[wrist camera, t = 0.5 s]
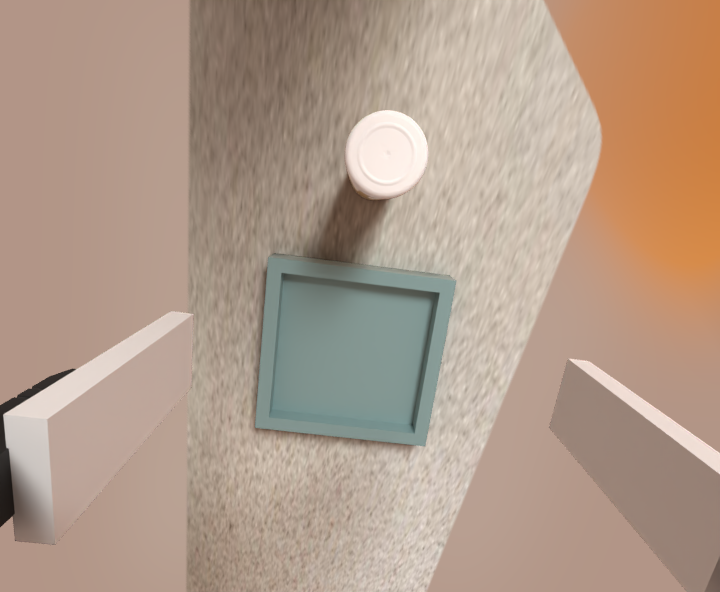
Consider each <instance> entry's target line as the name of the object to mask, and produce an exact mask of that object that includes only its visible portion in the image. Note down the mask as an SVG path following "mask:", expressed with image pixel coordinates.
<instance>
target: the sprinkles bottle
mask: <svg viewBox="0 0 720 592" xmlns="http://www.w3.org/2000/svg"><path fill="white" fill-rule="evenodd" d="M427 161H428V146H427V141H426V138H425V136H424V134H423V132H422V130H421V128H420V127H419V126H418V124H417V123H416V122H415V121H414V120H413V119H411V118H410V117H408V116H407V115H405V114H403V113H400V112H397V111H391V110H383V111H378V112H374V113H371V114H369V115H367V116H366V117H364V118H363V119H361V120H360V121H359V122H358V123H357V124H356V125H355V127H354V128H353V129H352V131H351V132H350V135H349V137H348V139H347V142H346V147H345V165H346V170H347V173H348V175H349V178H350V183H351V185H352V186H353V188H354V190H355V191H356V192H357V193H358V194H359V195H360V196H361V197H363V198H366V199H369V200H382V199H391V198H395V197H398V196H401V195H403V194H405V193H406V192H408V191H410V190H411V189H412V188H413V187H414V186H415V185H416V184H417V183H418V182H419V181H420V179H421V178H422V176H423V174H424V172H425V169H426V165H427Z"/></svg>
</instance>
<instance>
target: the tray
mask: <svg viewBox="0 0 720 592" xmlns="http://www.w3.org/2000/svg"><path fill="white" fill-rule="evenodd" d="M455 285H456V280H455V279H453V278H452V277H451V276H449V275H441V274H433V273H425V272H417V271H409V270H402V269H394V268H386V267H378V266H370V265H362V264H355V263H347V262H339V261H331V260H323V259H315V258H307V257H300V256H292V255H284V254H276V253H274V254H272V255H271V256H269V257H268V267H267V280H266V293H265V306H264V318H263V331H262V344H261V357H260V369H259V382H258V395H257V408H256V420H255V428H262V429H271V430H280V431H289V432H299V433H308V434H317V435H326V436H335V437H344V438H353V439H363V440H372V441H381V442H390V443H399V444H408V445H417V446H425V445H426V439H427V434H428V429H429V423H430V418H431V413H432V407H433V402H434V397H435V391H436V386H437V381H438V376H439V370H440V365H441V360H442V354H443V349H444V344H445V338H446V333H447V328H448V322H449V317H450V312H451V306H452V301H453V296H454V290H455Z"/></svg>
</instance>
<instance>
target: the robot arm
mask: <svg viewBox="0 0 720 592" xmlns="http://www.w3.org/2000/svg"><path fill="white" fill-rule="evenodd" d="M193 321H194V314H190V313H182V312H173V311H170V312H169V313H167V314H166V315H164V316H162V317H161V318H160V319H158V320H156V321H154V322H153V323H151V324H149V325H148V326H146V327H144V328H143V329H141V330H140V331H138V332H136V333H135V334H133V335H132V336H130V337H128V338H127V339H125V340H124V341H122V342H120V343H119V344H117V345H115V346H114V347H112V348H110V349H109V350H107V351H106V352H104V353H102V354H101V355H99V356H97V357H96V358H94V359H93V360H91V361H89V362H88V363H86V364H85V365H83V366H81V367H80V368H78V369H70V370H67V371H64V372H61V373H58V374H56V375H53V376H50V377H48V378H46V379H45V380H43V381H41V382H39V383H38V384H36V385H34V386H33V387H32V389H27V390H26V391H24V392H22V393H21V394H19V395H18V396H17V398H15V397H14V398H12V399H10V400H9V401H7V402H5V403H3V404H2V405H0V527H1V526H2V525H3V524H4V523H5V522H6V521H7V520H9V519H10V518H11V517H12V516H13V524H14V534H15V541H20V542H32V543H42V544H52V545H56V544H57V542H58V541H59V540H60V539H61V538H62V537H63V535H64V534H65V533H66V532H67V531H68V530H69V528H70V527H71V526H72V525H73V524H74V523H75V521H76V520H77V519H78V518H79V517H80V516H81V515H82V513H83V512H84V511H85V510H86V509H87V507H89V505H90V504H91V503H92V502H93V501H94V500H95V498H96V497H97V496H98V495H99V494H100V493H101V491H102V490H103V489H104V488H105V487H106V486H107V484H108V483H109V482H110V481H111V480H112V479H113V477H114V476H115V475H116V474H117V473H118V472H119V471H120V469H121V468H122V467H123V466H124V465H125V464H126V463H127V461H128V460H129V459H130V458H131V457H132V456H133V454H134V453H135V452H136V451H137V450H138V449H139V447H140V446H141V445H142V444H143V443H144V442H145V440H146V439H147V438H148V437H149V436H150V435H151V433H152V432H153V431H154V430H155V429H156V428H157V427H158V425H159V424H160V423H161V422H162V421H163V420H164V419H165V417H166V416H167V415H168V414H169V413H170V411H172V409H173V408H174V407H175V406H176V405H177V404H178V402H179V401H180V400H181V399H182V398H183V397H184V395H185V394H186V393H187V392H188V391H189V390H190V389H191V385H192V353H193ZM549 428H550V429H551V430H552V432H553V433H554V434H555V435H556V436H557V438H558V439H559V440H560V441H561V442H562V444H563V445H564V446H565V447H566V448H567V450H568V451H569V452H570V453H571V454H572V455H573V457H574V458H575V459H576V460H577V461H578V463H579V464H580V465H581V466H582V467H583V469H584V470H585V471H586V472H587V473H588V475H589V476H590V477H591V478H592V479H593V481H594V482H595V483H596V484H597V485H598V486H599V488H600V489H601V490H602V491H603V492H604V494H605V495H606V496H607V497H608V498H609V499H610V501H611V502H612V503H613V504H614V505H615V507H616V508H617V509H618V510H619V511H620V513H621V514H622V515H623V516H624V517H625V519H626V520H627V521H628V522H629V523H630V525H631V526H632V527H633V528H634V529H635V531H636V532H637V533H638V534H639V535H640V537H641V538H642V539H643V540H644V541H645V542H646V544H647V545H648V546H649V547H650V548H651V550H652V551H653V552H654V553H655V554H656V555H657V557H658V558H659V559H660V560H661V562H662V563H663V564H664V565H665V566H666V567H667V569H668V570H669V571H670V572H671V574H672V575H673V576H674V577H675V578H676V579H677V581H678V582H679V583H680V584H681V585H682V587H683V588H684V589H685V590H686V591H687V592H720V453H719V452H717V451H716V450H714V449H713V448H712V447H710V446H709V445H707V444H706V443H704V442H703V441H702V440H700V439H699V438H697V437H696V436H695V435H693V434H692V433H690V432H689V431H687V430H686V429H684V428H683V427H682V426H680V425H679V424H677V423H676V422H675V421H673V420H672V419H670V418H669V417H667V416H666V415H665V414H663V413H662V412H660V411H659V410H658V409H656V408H655V407H653V406H652V405H650V404H649V403H648V402H646V401H645V400H643V399H642V398H640V397H639V396H638V395H636V394H635V393H633V392H632V391H630V390H629V389H627V388H626V387H625V386H623V385H622V384H621V383H619V382H618V381H616V380H615V379H613V378H612V377H611V376H609V375H608V374H606V373H605V372H603V371H602V370H601V369H599V368H598V367H596V366H595V365H593V364H592V363H591V362H589V361H583V360H575V359H568V360H567V363H566V367H565V371H564V375H563V378H562V382H561V385H560V389H559V393H558V396H557V400H556V404H555V407H554V412H553V415H552V419H551V422H550V426H549Z"/></svg>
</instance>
